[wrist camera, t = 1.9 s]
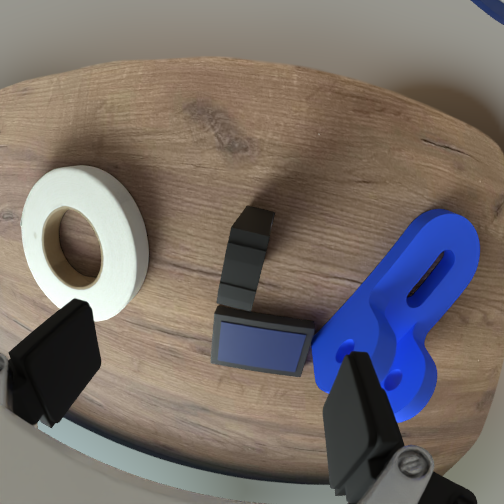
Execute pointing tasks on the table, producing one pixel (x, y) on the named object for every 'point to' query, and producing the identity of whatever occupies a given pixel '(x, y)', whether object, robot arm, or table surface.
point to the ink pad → (260, 341)
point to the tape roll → (105, 227)
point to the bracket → (402, 310)
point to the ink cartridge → (245, 258)
